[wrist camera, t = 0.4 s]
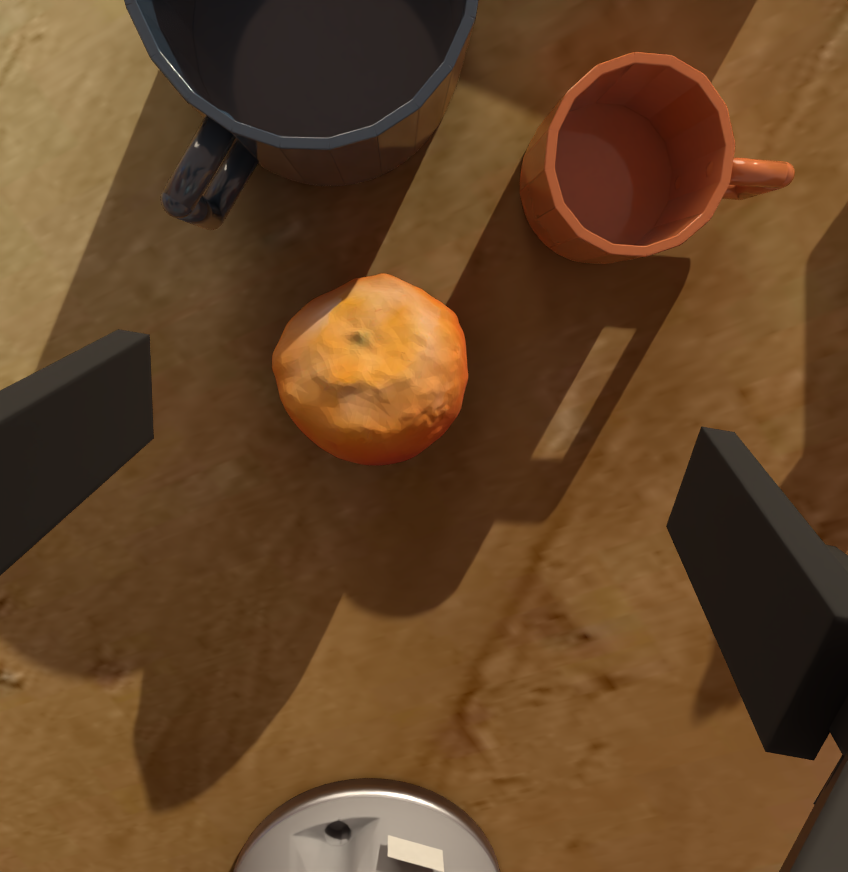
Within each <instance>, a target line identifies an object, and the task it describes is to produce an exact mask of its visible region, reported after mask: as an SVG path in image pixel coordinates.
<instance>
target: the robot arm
mask: <svg viewBox="0 0 848 872" xmlns="http://www.w3.org/2000/svg"><path fill="white" fill-rule="evenodd" d="M152 439H154V434H153V408H152V382H151V356H150V335H149V334H143V333H137V332H131V331H125V330H119V329H118V330H116V331H114V332H112V333H110V334H108V335H107V336H105V337H103V338H101V339H99V340H97V341H95V342H93V343H91V344H89V345H87V346H85V347H83V348H81V349H80V350H78V351H76V352H74V353H72V354H70V355H68V356H66V357H64V358H62V359H60V360H58V361H56V362H55V363H53V364H51V365H49V366H47V367H45V368H43V369H41V370H39V371H37V372H35V373H33V374H31V375H29V376H28V377H26V378H24V379H22V380H20V381H18V382H16V383H14V384H12V385H10V386H8V387H6V388H4V389H3V390H1V391H0V575H1V574H3V573H4V572H5V571H6V570H7V569H8V568H9V567H10V566H11V565H13V564H14V563H15V562H16V561H17V560H18V559H19V558H20V557H22V556H23V555H24V554H25V553H26V552H27V551H28V550H29V549H31V548H32V547H33V546H34V545H35V544H36V543H37V542H38V541H39V540H41V539H42V538H43V537H44V536H45V535H46V534H47V533H48V532H50V531H51V530H52V529H53V528H54V527H55V526H56V525H57V524H58V523H60V522H61V521H62V520H63V519H64V518H65V517H66V516H67V515H69V514H70V513H71V512H72V511H73V510H74V509H75V508H76V507H78V506H79V505H80V504H81V503H82V502H83V501H84V500H85V499H86V498H88V497H89V496H90V495H91V494H92V493H93V492H94V491H95V490H97V489H98V488H99V487H100V486H101V485H102V484H103V483H104V482H105V481H107V480H108V479H109V478H110V477H111V476H112V475H113V474H114V473H116V472H117V471H118V470H119V469H120V468H121V467H122V466H123V465H124V464H126V463H127V462H128V461H129V460H130V459H131V458H132V457H133V456H135V455H136V454H137V453H138V452H139V451H140V450H141V449H142V448H144V447H145V446H146V445H147V444H148V443H149V442H150V441H151V440H152ZM666 527H667V529H668V531H669V534H670V536H671V538H672V540H673V543H674V545H675V547H676V549H677V552H678V554H679V556H680V559H681V561H682V563H683V565H684V568H685V570H686V572H687V574H688V577H689V579H690V581H691V584H692V586H693V588H694V590H695V593H696V595H697V597H698V599H699V602H700V604H701V606H702V609H703V611H704V613H705V615H706V618H707V620H708V622H709V624H710V627H711V629H712V631H713V634H714V636H715V638H716V640H717V643H718V645H719V647H720V649H721V652H722V654H723V656H724V659H725V661H726V663H727V665H728V668H729V670H730V672H731V674H732V677H733V679H734V681H735V684H736V686H737V688H738V690H739V693H740V695H741V697H742V699H743V702H744V704H745V706H746V709H747V711H748V713H749V715H750V718H751V720H752V722H753V724H754V727H755V729H756V731H757V734H758V736H759V738H760V740H761V743H762V745H763V747H764V749H765V752H770V753H776V754H781V755H787V756H792V757H798V758H804V759H809V760H814V759H815V758H816V756H817V754H818V752H819V751H820V749H821V747H822V745H823V743H824V742H825V740H826V738H827V736H828V735H829V733H831V735H832V737H833V738H834V740H835V742H836V744H837V745H838V747H839V749H840V751H841V753H842V754H843V755H842V756H841V758H840V760H839V762H838V763H837V765H836V767H835V768H834V770H833V772H832V773H831V775H830V777H829V778H828V780H827V782H826V784H825V785H824V787H823V789H822V790H821V792H820V794H819V795H818V797H817V799H816V800H815V802H814V807H813V809H812V811H811V813H810V815H809V817H808V819H807V820H806V822H805V824H804V826H803V828H802V830H801V832H800V834H799V835H798V837H797V839H796V841H795V843H794V845H793V847H792V849H791V850H790V852H789V854H788V856H787V858H786V860H785V862H784V863H783V865H782V867H781V869H780V871H779V872H848V555H846V554H845V553H844V552H842V551H841V550H839V549H838V548H837V547H835V546H829V545H825V544H824V542H823V541H822V540H821V539H820V538H819V536H818V535H817V534H816V533H815V531H814V530H813V529H812V528H811V526H810V525H809V524H808V523H807V521H806V520H805V519H804V518H803V516H802V515H801V514H800V513H799V512H798V510H797V509H796V508H795V507H794V505H793V504H792V503H791V502H790V500H789V499H788V498H787V497H786V495H785V494H784V493H783V492H782V490H781V489H780V488H779V487H778V486H777V484H776V483H775V482H774V481H773V479H772V478H771V477H770V476H769V474H768V473H767V472H766V471H765V469H764V468H763V467H762V466H761V464H760V463H759V462H758V461H757V459H756V458H755V457H754V456H753V455H752V453H751V452H750V451H749V450H748V448H747V447H746V446H745V445H744V443H743V442H742V441H741V440H740V438H739V437H738V436H737V435H736V433H735V432H730V431H724V430H718V429H712V428H706V427H701V429H700V432H699V435H698V438H697V441H696V443H695V446H694V449H693V452H692V455H691V458H690V460H689V463H688V466H687V469H686V472H685V475H684V477H683V480H682V483H681V486H680V489H679V492H678V494H677V497H676V500H675V503H674V506H673V509H672V512H671V514H670V517H669V520H668V523H667V526H666ZM233 872H500V869H499V865H498V862H497V858H496V856H495V853H494V851H493V848H492V846H491V845H490V843H489V841H488V839H487V837H486V836H485V834H484V833H483V832H482V830H481V829H480V827H479V826H478V825H477V824H476V823H475V822H474V821H473V819H472V818H471V817H469V816H468V815H467V814H466V813H465V812H464V811H463V810H462V809H460V808H459V807H458V806H456V805H455V804H454V803H452V802H451V801H449V800H447V799H446V798H444V797H442V796H440V795H438V794H436V793H434V792H432V791H430V790H427V789H425V788H422V787H420V786H416V785H413V784H409V783H406V782H401V781H395V780H388V779H375V778H363V779H350V780H344V781H337V782H333V783H329V784H325V785H322V786H319V787H316V788H313V789H311V790H308V791H306V792H304V793H302V794H299V795H297V796H296V797H294V798H292V799H290V800H289V801H287V802H285V803H284V804H282V805H281V806H280V807H278V808H277V809H275V810H274V811H273V812H272V813H271V814H270V815H268V816H267V817H266V818H265V819H264V820H263V821H262V822H261V823H260V824H259V825H258V826H257V828H256V829H255V830H254V831H253V833H252V834H251V835H250V837H249V838H248V840H247V841H246V843H245V845H244V846H243V848H242V850H241V852H240V855H239V857H238V859H237V862H236V865H235V868H234V871H233Z"/></svg>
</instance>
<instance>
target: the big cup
mask: <svg viewBox="0 0 848 872" xmlns="http://www.w3.org/2000/svg"><path fill="white" fill-rule="evenodd" d="M124 1H125V5H126V8H127V10H128V12H129V15H130V17H131V19H132V21H133V23H134V25H135V27H136V29H137V31H138V34H139V36H140V38H141V40H142V42H143V44H144V46H145V48H146V50H147V52H148V55H149V57H150V58H151V60H152V61H153V62H154V64H155V65H156V66H157V67H158V68H159V69H160V71H161V72H162V73H163V74H164V75H165V77H166V78H167V79H168V80H169V81H170V83H171V84H172V85H173V86H174V87H175V88H176V90H177V91H178V92H179V93H180V94H181V96H182V97H183V98H184V99H185V100H186V101H187V102H188V103H189V104H190V105H191V106H192V107H193V108H194V109H195V110H196V111H197V112H198V113H199V114H200V115H201V116H202V117H203V118H204V119H203V121H202V123H201V125H200V126H199V128H198V130H197V132H196V133H195V135H194V137H193V139H192V140H191V142H190V144H189V146H188V147H187V149H186V151H185V153H184V154H183V156H182V158H181V160H180V161H179V163H178V165H177V167H176V168H175V170H174V172H173V174H172V175H171V177H170V179H169V181H168V182H167V184H166V186H165V188H164V189H163V191H162V193H161V205H162V207H163V209H164V210H165V211H166V213H167V214H169V215H170V216H172V217H175V218H177V219H180V220H182V221H185V222H188V223H190V224H193V225H196V226H198V227H201V228H204V229H207V230H215V229H218V228H219V227H220V226H221V225H222V224H223V222H224V220H225V219H226V217H227V215H228V214H229V212H230V210H231V209H232V207H233V205H234V204H235V202H236V200H237V198H238V197H239V195H240V193H241V192H242V190H243V188H244V187H245V185H246V183H247V182H248V180H249V178H250V176H251V175H252V173H253V171H254V170H255V168H256V166H257V165H258V164H259V165H260V166H262V167H263V168H265V169H266V170H268V171H270V172H272V173H275V174H277V175H279V176H282V177H284V178H286V179H289V180H293V181H296V182H300V183H303V184H310V185H317V186H344V185H351V184H357V183H360V182H364V181H368V180H371V179H374V178H376V177H378V176H381V175H383V174H385V173H388V172H389V171H391V170H392V169H394V168H396V167H397V166H399V165H401V164H402V163H404V162H405V161H406V160H407V159H408V158H410V157H411V156H412V155H413V154H415V153H416V152H417V151H418V150H419V149H420V148H421V146H422V145H423V144H424V143H425V142H426V141H427V140H428V139H429V137H430V136H431V135H432V133H433V132H434V131H435V129H436V128H437V126H438V125H439V124H440V122H441V120H442V118H443V116H444V114H445V112H446V110H447V108H448V105H449V103H450V100H451V98H452V96H453V94H454V91H455V89H456V87H457V84H458V80H459V76H460V73H461V69H462V66H463V62H464V58H465V55H466V51H467V47H468V44H469V40H470V37H471V33H472V29H473V26H474V22H475V19H476V13H477V7H478V1H479V0H124ZM231 146H232V147H231ZM230 147H231V149H230ZM229 149H230V150H229ZM228 151H229V152H228ZM227 153H228V154H227ZM226 154H227V156H226ZM225 156H226V157H225ZM224 158H225V159H224ZM223 159H224V161H223ZM222 161H223V163H222ZM221 163H222V164H221ZM220 165H221V166H220ZM219 166H220V168H219ZM218 168H219V169H218ZM217 170H218V171H217ZM216 171H217V173H216ZM215 173H216V175H215ZM214 175H215V176H214ZM213 177H214V178H213ZM212 178H213V180H212ZM211 180H212V181H211ZM210 182H211V183H210ZM209 183H210V185H209ZM208 185H209V187H208ZM207 187H208V188H207ZM206 189H207V190H206ZM205 190H206V192H205ZM204 192H205V193H204ZM203 194H204V195H203Z"/></svg>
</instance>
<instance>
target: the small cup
mask: <svg viewBox="0 0 848 872" xmlns="http://www.w3.org/2000/svg"><path fill="white" fill-rule="evenodd" d="M734 152H735V140H734V135H733V131H732V126H731V122H730V117H729V113H728V108H727V107H726V104H725V102H724V101H723V100H722V98H721V97H720V95H719V94H718V93H717V91H716V90H715V88H714V87H713V85H712V84H711V83H710V81H709V80H708V78H707V77H706V75H704V74H703V73H702V72H700V71H698V70H696V69H695V68H693V67H691V66H690V65H688V64H686V63H684V62H683V61H681V60H679V59H678V58H676V57H674V56H671V55H665V54H654V53H642V52H631V53H629V54H626V55H623V56H620V57H617V58H614V59H612V60H609V61H606V62H603V63H600V64H598V65H597V66H595V67H593V68H592V69H591V70H590V71H589V72H588V73H587V74H586V75H585V76H584V77H583V78H581V79H580V80H579V81H578V82H577V83H576V84H575V85H574V86H573V87H572V88H570V89H569V90H568V91H567V92H566V94H565V95H564V96H563V97H562V98H561V100H560V101H559V102H558V103H557V105H556V106H555V107H554V108H553V110H552V111H551V112H550V113H549V115H548V116H547V117H546V118H545V119H544V121H543V122H542V123H541V124H540V126H539V127H538V129H537V131H536V133H535V135H534V136H533V138H532V140H531V142H530V143H529V145H528V148H527V150H526V152H525V155H524V158H523V162H522V165H521V172H520V187H519V188H520V198H521V203H522V207H523V210H524V213H525V216H526V219H527V221H528V223H529V224H530V226H531V228H532V230H533V231H534V232H535V234H536V235H537V237H538V238H539V239H540V240H541V241H542V242H543V243H544V244H545V245H546V246H547V247H549V248H550V249H551V250H552V251H554V252H556V253H557V254H559V255H560V256H563V257H565V258H567V259H570V260H573V261H577V262H581V263H591V264H599V263H600V264H609V263H614V262H620V261H625V260H631V259H636V258H642V257H647V256H650V255H653V254H656V253H659V252H662V251H665V250H668V249H671V248H673V247H676V246H679V245H681V244H683V243H684V242H685V241H686V240H687V239H688V238H690V237H691V236H692V235H693V234H694V233H695V232H697V231H698V230H699V229H700V228H701V227H702V226H704V225H705V224H706V223H707V222H708V221H709V220H710V219H711V218H712V216H713V214H714V212H715V210H716V209H717V207H718V205H719V203H720V201H721V199H734V200H743V199H746V198H750V197H753V196H757V195H760V194H763V193H767V192H770V191H774V190H777V189H780V188H784V187H786V186H787V185H789V184H790V183H791V182H792V180H793V178H794V175H795V170H794V167H793V166H792V165H791V164H790V163H788V162H783V161H771V160H758V159H746V158H734Z"/></svg>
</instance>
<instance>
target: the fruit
mask: <svg viewBox="0 0 848 872" xmlns="http://www.w3.org/2000/svg"><path fill="white" fill-rule="evenodd" d="M272 370H273V372H274V375H275V378H276V382H277V386H278V391H279V395H280V399H281V401H282V403H283V405H284V407H285V410H286V411H287V413H288V414H289V416H290V417H291V419H292V420H293V422H294V423H295V424H296V425H297V427H298V428H299V429H300V430H301V431H302V432H303V433H304V434H305V435H306V436H307V437H308V438H309V439H310V440H311V441H313V442H314V443H315V444H316V445H317V446H319V447H320V448H322V449H323V450H325V451H327V452H328V453H330V454H332V455H333V456H335V457H337V458H340V459H342V460H346V461H349V462H354V463H358V464H363V465H388V464H394V463H398V462H403V461H406V460H409V459H411V458H413V457H415V456H416V455H418V454H419V453H421V452H422V451H423V450H425V449H426V448H427V447H428V446H430V445H431V444H432V443H433V442H435V441H436V440H437V439H439V438H440V437H441V436H442V435H443V434H444V433H445V432H446V431H447V429H448V428H449V427H450V425H451V424H452V423H453V421H454V420H455V419H456V417H457V416H458V414H459V412H460V410H461V406H462V401H463V396H464V392H465V388H466V384H467V381H468V370H467V355H466V341H465V336H464V333H463V330H462V328H461V327H460V325H459V322H458V317H457V316H456V314H455V313H454V312H453V311H452V310H450V309H449V308H448V307H446V306H445V305H444V304H443V303H441V302H440V301H438V300H436V299H434V298H433V297H431V296H430V295H429V294H427V293H426V292H425V291H424V290H422V289H420V288H418V287H415V286H413V285H411V284H409V283H407V282H404V281H402V280H400V279H398V278H396V277H393V276H391V275H388V274H384V273H380V274H378V275H374V276H369V277H362V278H355V279H352V280H350V281H349V282H347V283H345V284H343V285H342V286H340V287H338V288H336V289H334V290H332V291H330V292H327V293H325V294H322V295H320V296H318V297H316V298H314V299H312V300H311V301H310V302H309V303H307V304H306V305H305V306H304V307H303V308H302V309H301V310H300V311H299V312H297V313H296V314H295V315H294V316H293V318H292V319H291V320H290V321H289V322H288V323H287V325H286V327H285V329H284V331H283V333H282V335H281V338H280V340H279V342H278V344H277V346H276V348H275V350H274V352H273V354H272Z"/></svg>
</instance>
